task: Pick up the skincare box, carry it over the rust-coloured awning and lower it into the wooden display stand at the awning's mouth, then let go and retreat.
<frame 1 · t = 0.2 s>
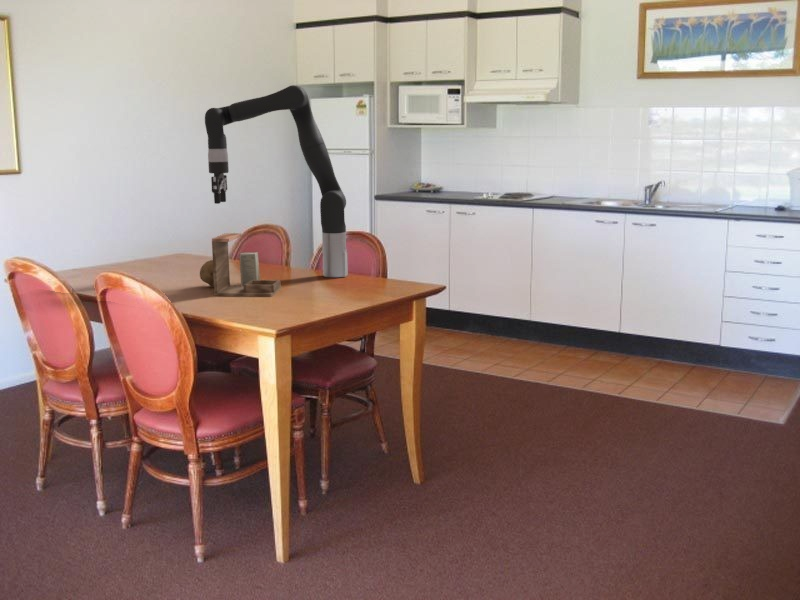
hand: (220, 202, 345), 29 cm above the table, tool pointing down, fingers open, 8 cm apart
wooden display stand: (248, 292, 313), on the table
natural sponge: (212, 287, 325), on the table
skincare box: (250, 286, 327), on the table
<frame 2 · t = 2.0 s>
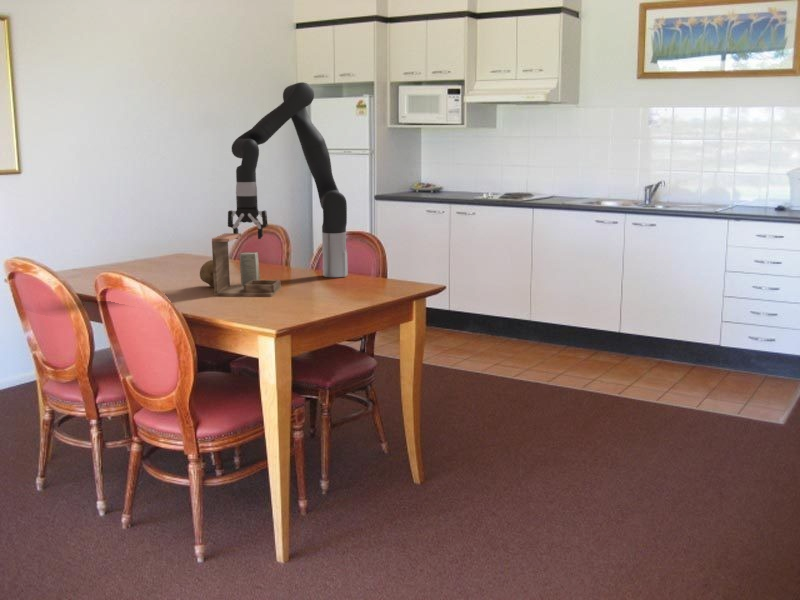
hand: (248, 238, 324), 17 cm above the table, tool pointing down, fingers open, 8 cm apart
nothing on the table moved.
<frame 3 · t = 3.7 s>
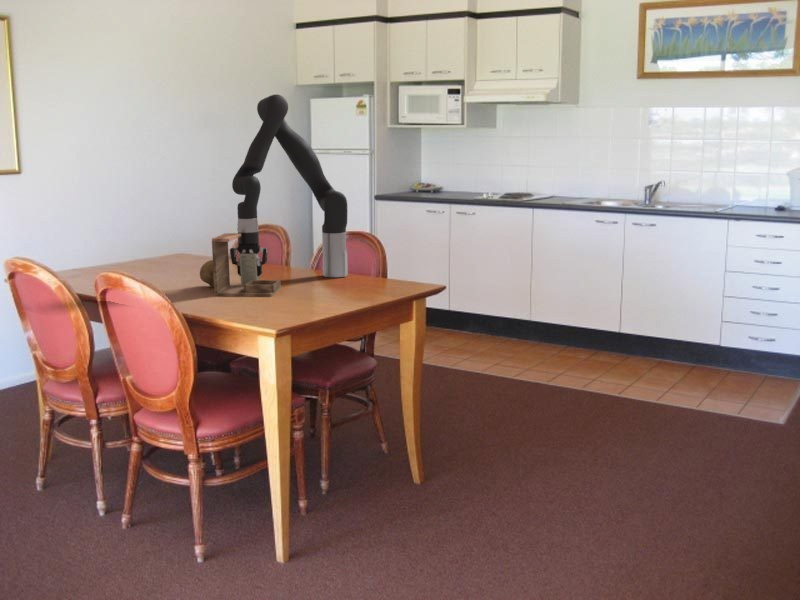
hand: (249, 275, 327), 4 cm above the table, tool pointing down, fingers closed on skincare box, 6 cm apart
skincare box: (250, 286, 327), on the table, touching gripper
everything else where it was.
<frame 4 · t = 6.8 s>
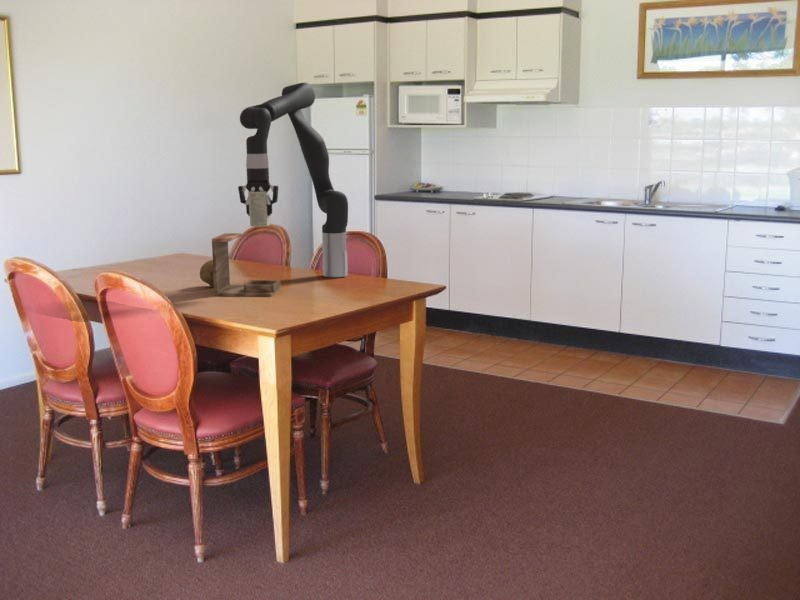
hand: (259, 215, 308), 27 cm above the table, tool pointing down, fingers closed on skincare box, 6 cm apart
skincare box: (259, 226, 309), point 23 cm above the table, touching gripper
everything else where it was.
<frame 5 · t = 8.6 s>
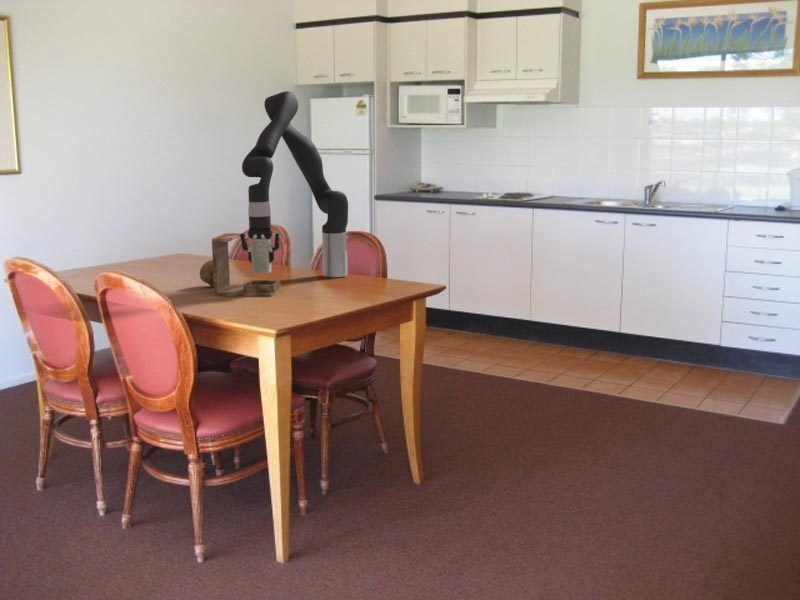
hand: (261, 262, 311), 11 cm above the table, tool pointing down, fingers closed on skincare box, 6 cm apart
skincare box: (261, 273, 312), point 7 cm above the table, touching gripper
everything else where it was.
when the fingers open (6 cm above the table, at t = 10.1 s): skincare box drops 1 cm, resting on wooden display stand.
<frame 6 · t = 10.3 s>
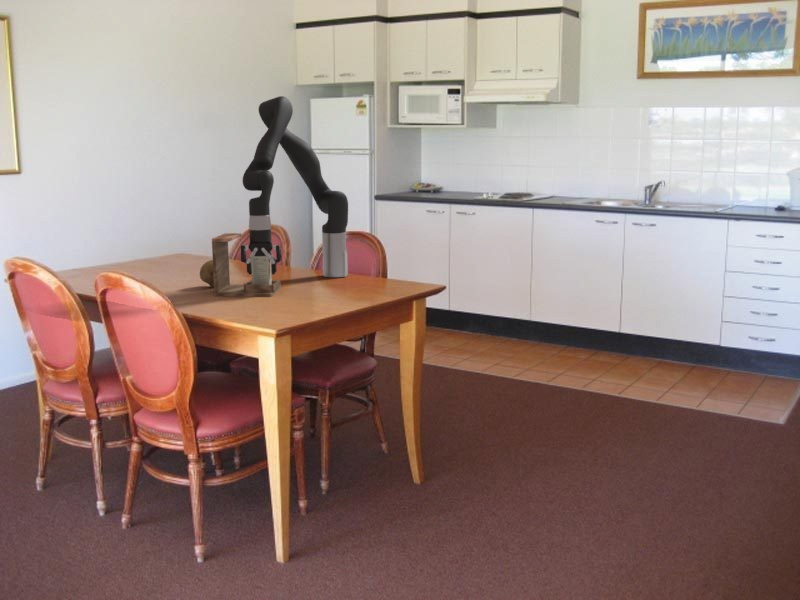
hand: (261, 274, 312), 6 cm above the table, tool pointing down, fingers open, 8 cm apart
skincare box: (262, 290, 313), point 1 cm above the table, touching wooden display stand
everything else where it was.
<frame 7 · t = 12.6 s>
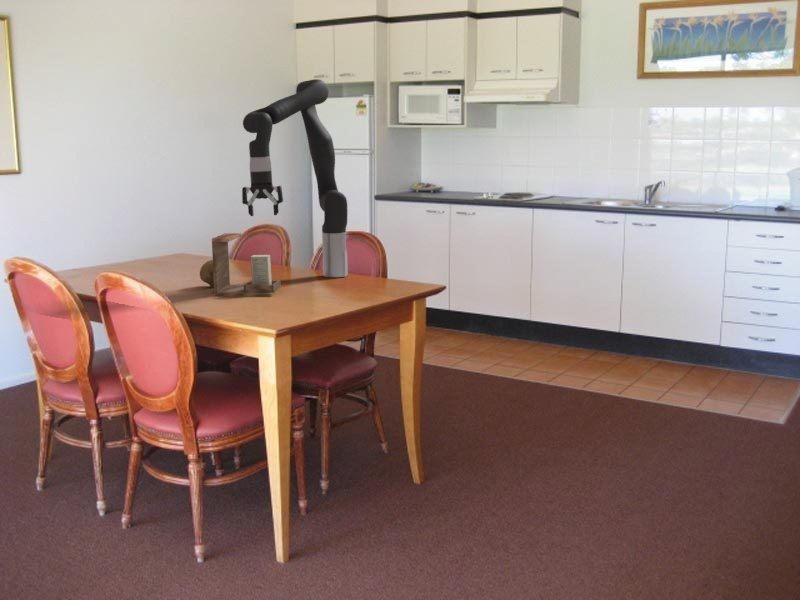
hand: (263, 215, 317), 26 cm above the table, tool pointing down, fingers open, 8 cm apart
nothing on the table moved.
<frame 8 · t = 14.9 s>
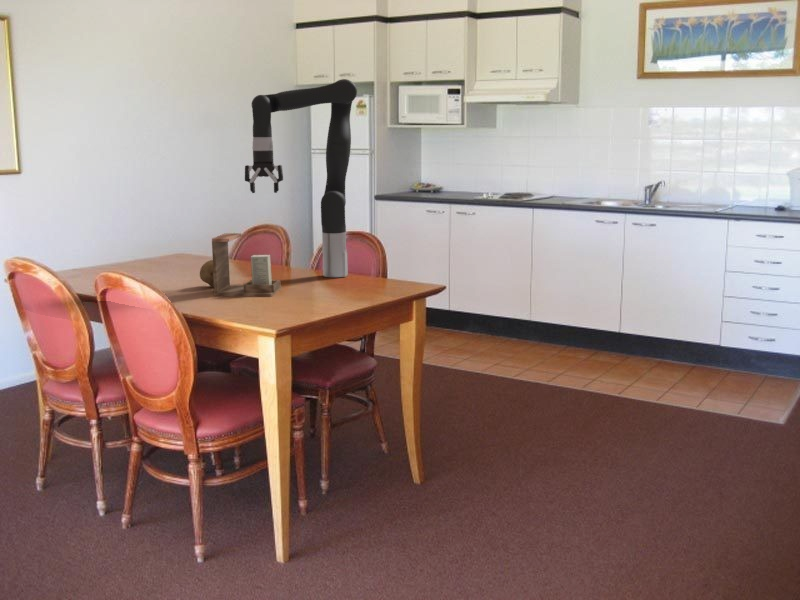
hand: (264, 192, 336), 33 cm above the table, tool pointing down, fingers open, 8 cm apart
nothing on the table moved.
at the end: skincare box inside the target area on the wooden display stand (0.1 cm from its centre), point 0.8 cm above the wooden display stand's base; skincare box tilted 0°; the gripper is holding nothing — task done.
